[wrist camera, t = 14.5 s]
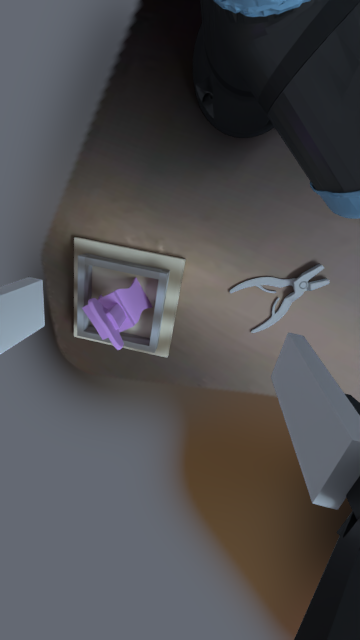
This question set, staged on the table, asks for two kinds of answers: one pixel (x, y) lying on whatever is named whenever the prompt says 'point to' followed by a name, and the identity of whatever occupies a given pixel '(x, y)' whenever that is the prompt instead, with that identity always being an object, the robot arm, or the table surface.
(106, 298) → the toy chair
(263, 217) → the table surface
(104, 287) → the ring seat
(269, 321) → the pliers
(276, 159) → the table surface
